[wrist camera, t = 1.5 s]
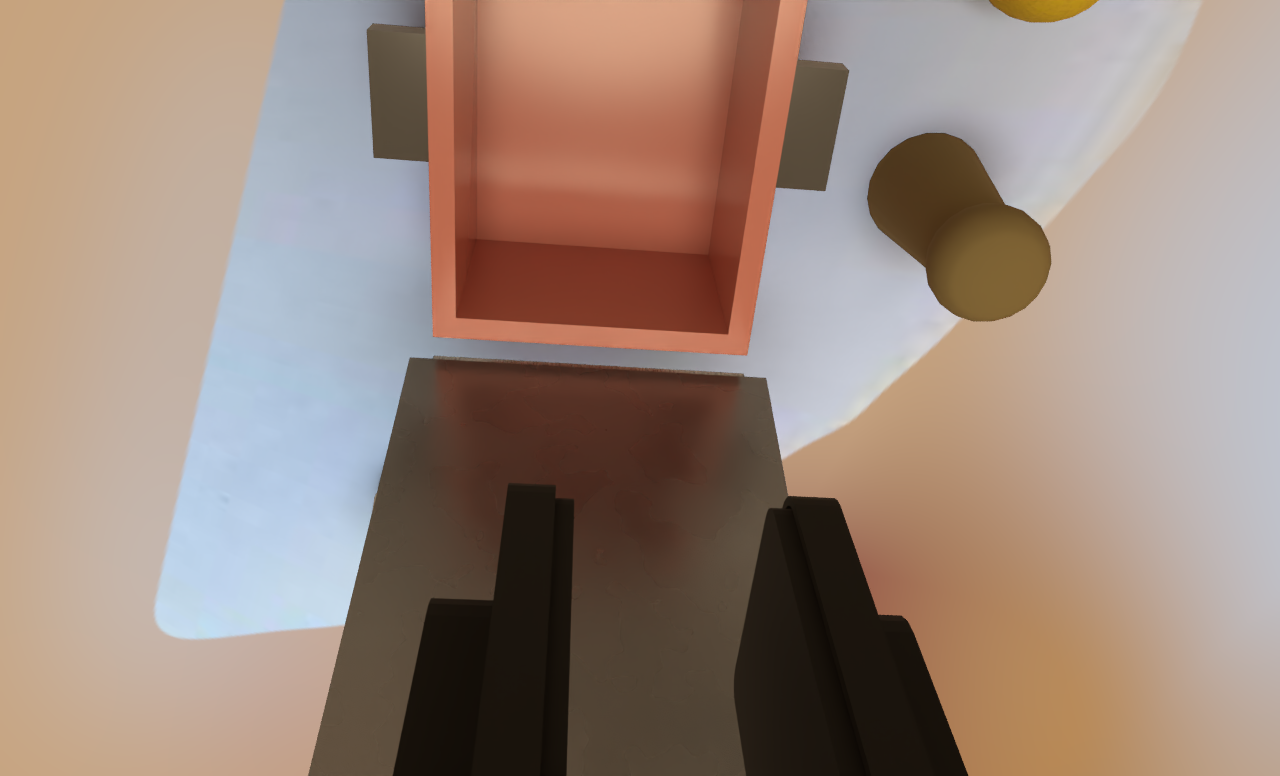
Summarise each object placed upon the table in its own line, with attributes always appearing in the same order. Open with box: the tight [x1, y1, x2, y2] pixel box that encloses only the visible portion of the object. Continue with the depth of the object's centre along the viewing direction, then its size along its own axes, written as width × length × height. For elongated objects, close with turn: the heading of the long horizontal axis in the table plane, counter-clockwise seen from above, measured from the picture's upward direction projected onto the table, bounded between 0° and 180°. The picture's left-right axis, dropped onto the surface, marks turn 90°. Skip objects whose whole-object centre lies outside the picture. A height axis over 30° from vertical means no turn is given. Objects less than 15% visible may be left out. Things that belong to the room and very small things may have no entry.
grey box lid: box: [308, 356, 788, 776], centre depth 35 cm, size 24×16×1 cm
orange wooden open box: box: [367, 0, 849, 355], centre depth 42 cm, size 20×19×10 cm
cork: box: [867, 133, 1051, 321], centre depth 45 cm, size 6×6×11 cm
